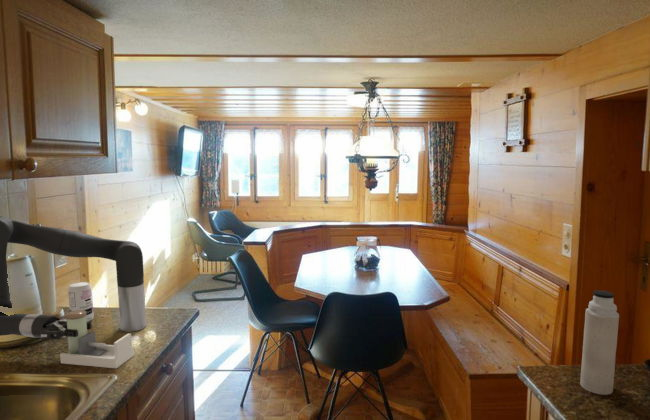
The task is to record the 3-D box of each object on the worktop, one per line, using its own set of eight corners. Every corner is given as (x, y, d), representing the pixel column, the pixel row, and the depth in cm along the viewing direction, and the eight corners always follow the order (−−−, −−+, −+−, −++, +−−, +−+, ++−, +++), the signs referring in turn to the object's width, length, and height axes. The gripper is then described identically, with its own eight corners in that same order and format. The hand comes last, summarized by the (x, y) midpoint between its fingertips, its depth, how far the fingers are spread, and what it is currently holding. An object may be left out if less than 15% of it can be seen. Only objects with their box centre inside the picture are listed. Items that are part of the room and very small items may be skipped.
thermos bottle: (599, 379, 131) (607, 287, 127) (619, 394, 123) (628, 296, 119) (574, 380, 130) (580, 288, 127) (592, 395, 122) (600, 297, 119)
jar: (70, 348, 148) (67, 311, 146) (90, 346, 150) (87, 309, 148) (66, 356, 143) (63, 317, 141) (87, 353, 144) (84, 315, 143)
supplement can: (76, 317, 183) (73, 281, 181) (97, 316, 184) (94, 281, 182) (66, 324, 175) (63, 287, 173) (89, 323, 176) (86, 287, 174)
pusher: (79, 358, 143) (77, 339, 142) (93, 350, 149) (92, 330, 148) (98, 360, 141) (97, 340, 140) (112, 351, 148) (110, 332, 147)
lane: (60, 363, 143) (58, 339, 142) (81, 350, 152) (79, 328, 151) (116, 368, 139) (114, 344, 138) (134, 355, 148) (132, 332, 147)
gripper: (20, 323, 140) (66, 327, 137) (55, 307, 154) (98, 310, 151) (22, 345, 141) (68, 350, 138) (57, 328, 155) (99, 331, 152)
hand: (83, 329), depth 145 cm, fingers closed on jar, 5 cm apart
